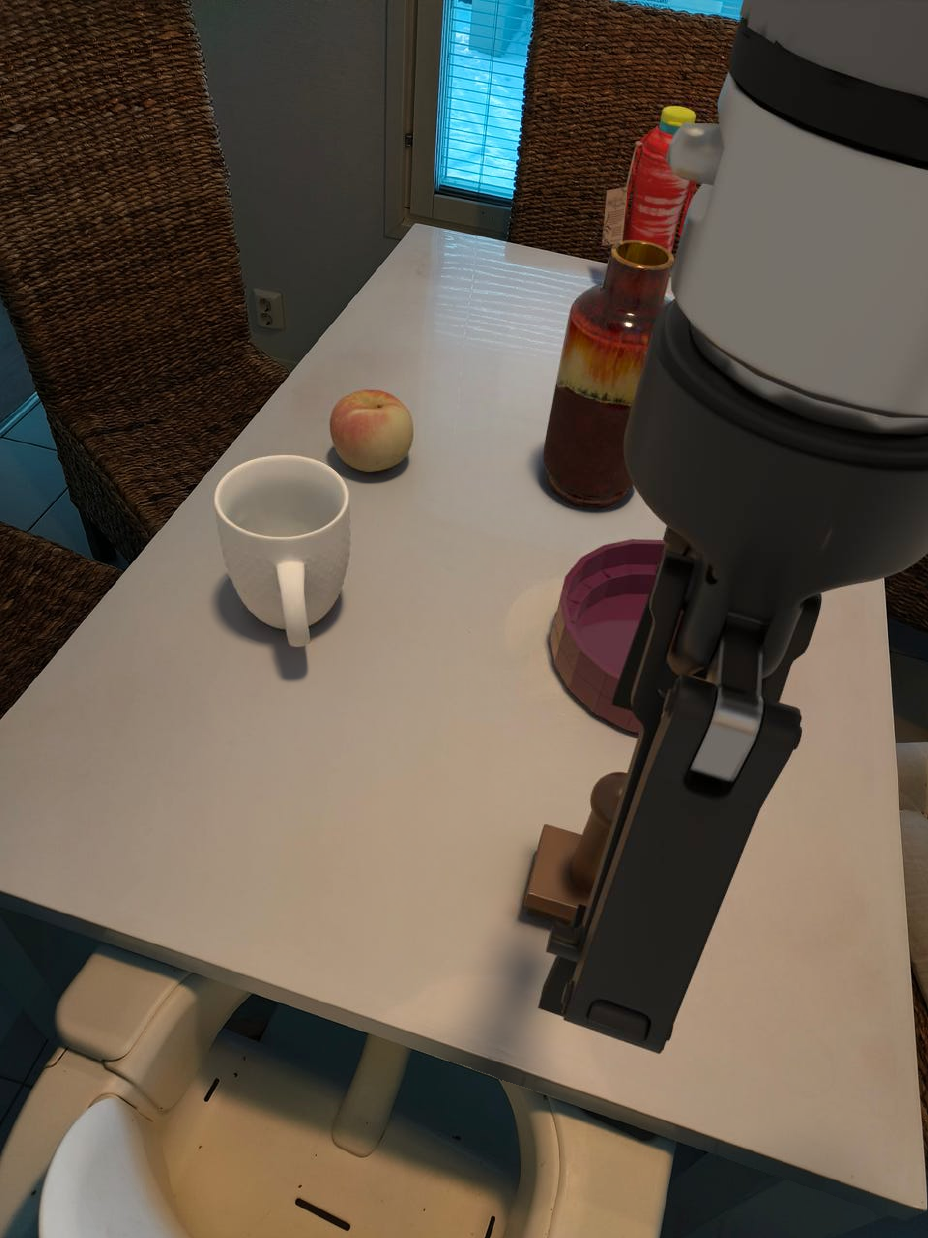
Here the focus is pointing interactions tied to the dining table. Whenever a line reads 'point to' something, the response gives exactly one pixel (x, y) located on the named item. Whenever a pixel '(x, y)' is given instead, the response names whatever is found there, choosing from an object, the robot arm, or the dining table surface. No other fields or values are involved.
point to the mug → (285, 539)
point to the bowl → (603, 622)
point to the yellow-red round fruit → (371, 430)
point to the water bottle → (651, 189)
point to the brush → (572, 857)
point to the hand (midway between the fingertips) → (614, 838)
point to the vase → (603, 375)
